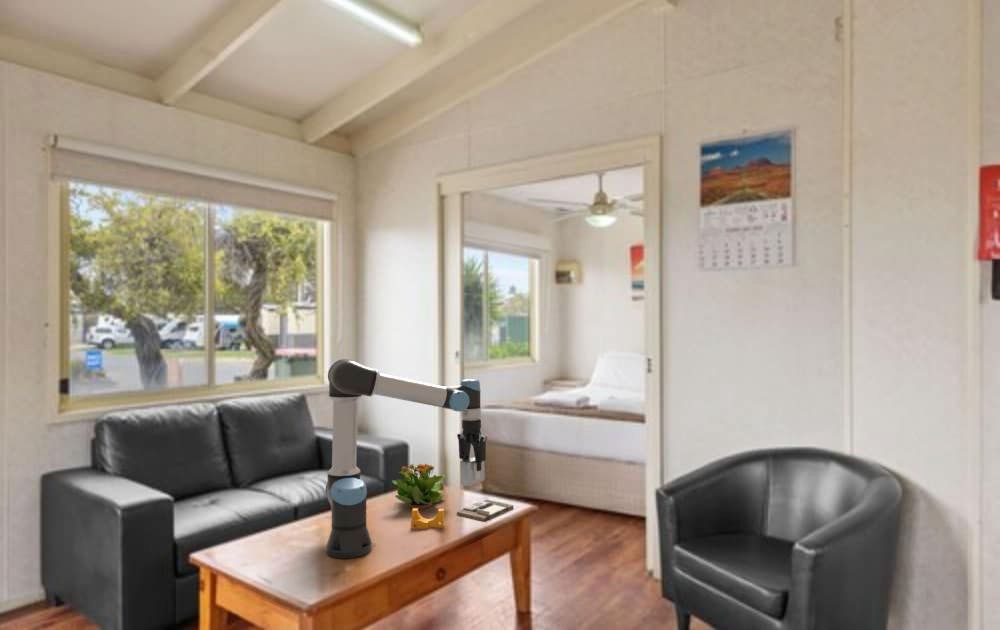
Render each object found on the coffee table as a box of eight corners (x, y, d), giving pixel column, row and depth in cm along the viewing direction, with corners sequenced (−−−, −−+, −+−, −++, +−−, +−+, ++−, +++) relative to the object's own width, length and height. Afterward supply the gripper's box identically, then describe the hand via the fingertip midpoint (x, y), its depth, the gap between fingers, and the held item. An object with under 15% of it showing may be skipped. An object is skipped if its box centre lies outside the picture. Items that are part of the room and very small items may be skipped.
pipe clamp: (411, 529, 231) (410, 511, 231) (413, 525, 236) (413, 508, 236) (442, 529, 231) (442, 512, 231) (444, 525, 235) (444, 508, 235)
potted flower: (452, 512, 250) (452, 469, 250) (394, 517, 244) (394, 474, 244) (442, 495, 274) (441, 456, 274) (388, 500, 268) (388, 460, 268)
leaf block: (468, 486, 235) (468, 462, 235) (460, 484, 238) (460, 461, 238) (484, 480, 243) (484, 457, 243) (476, 478, 246) (476, 456, 246)
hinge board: (484, 521, 239) (484, 515, 239) (456, 514, 247) (456, 509, 247) (513, 508, 255) (513, 502, 255) (486, 502, 263) (486, 497, 263)
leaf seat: (488, 515, 242) (488, 511, 242) (476, 512, 246) (476, 509, 246) (507, 507, 252) (507, 503, 253) (496, 504, 256) (496, 501, 256)
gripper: (448, 418, 243) (450, 477, 243) (482, 422, 232) (483, 483, 232) (461, 415, 249) (462, 473, 249) (494, 419, 238) (495, 479, 238)
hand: (472, 478), depth 240 cm, fingers closed on leaf block, 4 cm apart
